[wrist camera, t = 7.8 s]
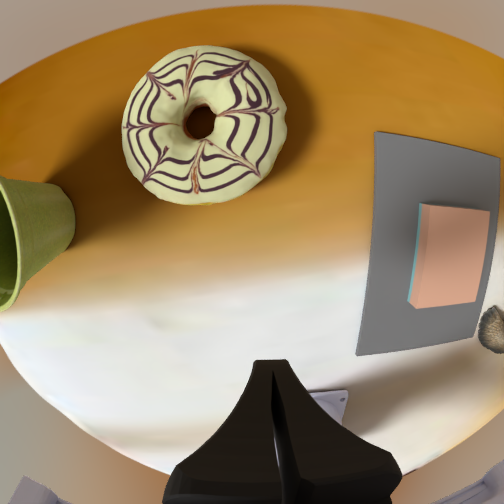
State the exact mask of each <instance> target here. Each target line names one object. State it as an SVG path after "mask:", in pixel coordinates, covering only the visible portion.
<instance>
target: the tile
mask: <svg viewBox="0 0 504 504" xmlns="http://www.w3.org/2000/svg"><path fill="white" fill-rule="evenodd" d="M489 218H490V211H485V210H481V209H475V208H466V207H457V206H447V205H436V204H425V203H419V217H418V229H417V239H416V248H415V256H414V263H413V270H412V277H411V283H410V289H409V294H408V300H407V301H408V302H409V303H410V304H411V305H413V306H414V307H415V308H416V309H419V308H428V307H437V306H446V305H454V304H461V303H469V302H475V300H476V296H477V292H478V288H479V283H480V278H481V273H482V268H483V263H484V257H485V250H486V244H487V236H488V228H489Z"/></svg>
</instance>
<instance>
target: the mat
mask: <svg viewBox="0 0 504 504" xmlns="http://www.w3.org/2000/svg"><path fill="white" fill-rule="evenodd" d="M374 145H375V175H374V207H373V224H372V238H371V250H370V260H369V270H368V278H367V286H366V294H365V301H364V308H363V314H362V321H361V327H360V332H359V338H358V343H357V349H356V356H363V355H372V354H381V353H388V352H395V351H402V350H409V349H415V348H421V347H427V346H433V345H438V344H443V343H448V342H453V341H458V340H462V339H467V338H471V337H473V336H474V333H475V329H476V326H477V323H478V319H479V316H480V312H481V309H482V305H483V301H484V297H485V293H486V289H487V284H488V280H489V275H490V270H491V265H492V259H493V253H494V246H495V239H496V232H497V223H498V212H499V197H500V158H497V157H493V156H490V155H487V154H483V153H480V152H476V151H472V150H468V149H464V148H460V147H456V146H452V145H448V144H443V143H439V142H434V141H429V140H424V139H419V138H413V137H408V136H402V135H395V134H389V133H382V132H374ZM419 203H425V204H436V205H447V206H457V207H466V208H475V209H481V210H485V211H490V218H489V228H488V236H487V244H486V250H485V257H484V263H483V268H482V273H481V278H480V283H479V288H478V292H477V296H476V300H475V302H469V303H461V304H454V305H446V306H437V307H428V308H419V309H416V308H415V307H414V306H413V305H411V304H410V303H409V302H408V301H407V300H408V294H409V289H410V283H411V277H412V270H413V263H414V256H415V248H416V239H417V229H418V217H419Z"/></svg>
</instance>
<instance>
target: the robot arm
mask: <svg viewBox="0 0 504 504" xmlns="http://www.w3.org/2000/svg"><path fill="white" fill-rule="evenodd" d="M348 396H349V394H348V391H347V390H339V391H329V392H317V393H308V391H307V390H306V389H305V387H304V386H303V385H302V383H301V382H300V381H299V379H298V378H297V376H296V375H295V373H294V371H293V370H292V368H291V366H290V364H289V362H288V361H287V360H286V359H281V360H256V361H254V362H253V369H252V372H251V375H250V378H249V381H248V383H247V385H246V387H245V390H244V392H243V394H242V395H241V397H240V399H239V401H238V402H237V404H236V406H235V408H234V409H233V411H232V412H231V413H230V415H229V416H228V418H227V419H226V420H225V422H224V423H223V424H222V425H221V426H220V428H219V429H218V430H217V431H216V432H215V433H214V434H213V435H212V436H211V438H209V439H208V440H207V441H206V442H205V443H204V444H203V445H202V446H201V447H200V448H199V449H198V450H196V451H195V452H194V453H193V454H191V455H190V456H189V457H187V458H186V459H184V460H183V461H182V462H180V463H179V464H177V465H176V467H175V468H174V470H173V472H172V474H171V476H170V478H169V480H168V482H167V485H166V488H165V491H164V496H163V500H162V503H163V504H392V501H391V498H390V495H391V494H392V492H393V491H394V490H395V488H396V487H397V486H398V485H399V483H400V481H401V479H402V473H401V470H400V468H399V466H398V464H397V462H396V460H395V459H394V457H393V456H392V454H391V453H390V452H388V451H386V450H384V449H381V448H379V447H377V446H375V445H372V444H370V443H368V442H367V441H365V440H363V439H361V438H359V437H358V436H356V435H355V434H353V433H352V432H350V431H349V430H347V429H346V428H345V427H343V425H342V418H343V414H344V411H345V407H346V403H347V399H348ZM342 398H343V399H342ZM8 504H72V503H70V502H67V501H65V500H63V499H60V498H58V496H57V495H56V494H55V493H54V492H53V491H52V490H51V489H50V488H48V487H47V486H45V485H43V484H41V483H39V482H37V481H35V480H33V479H31V478H30V477H28V476H25V475H24V476H23V477H22V479H21V481H20V483H19V485H18V486H17V488H16V490H15V492H14V493H13V495H12V497H11V499H10V501H9V503H8ZM431 504H504V460H502V461H501V462H499V463H497V464H496V465H495V466H493V467H492V468H491V469H490V470H489V471H488V472H487V473H486V474H485V475H484V476H483V478H482V479H480V480H478V481H476V482H475V483H473V484H471V485H469V486H467V487H465V488H463V489H461V490H459V491H457V492H455V493H453V494H451V495H449V496H447V497H445V498H442V499H440V500H438V501H435V502H433V503H431Z"/></svg>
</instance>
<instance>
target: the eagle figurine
mask: <svg viewBox="0 0 504 504" xmlns="http://www.w3.org/2000/svg"><path fill="white" fill-rule="evenodd" d="M480 320H481V323H479V328H480V330H479V331H478V333H479V336H478V338H479V340H480V342H481V344H483V346H484V347H486V348H487V349H490V350H491V351H493V352H494V353H497V354H498V353H500V354H501V353H504V322H503V320H502V319H501V317H500V315H499V313H498V311H497V310H496V308H495V307H493V308H492V309H488V311H487V312H484V313H483V316H482V317H481V319H480Z"/></svg>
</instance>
